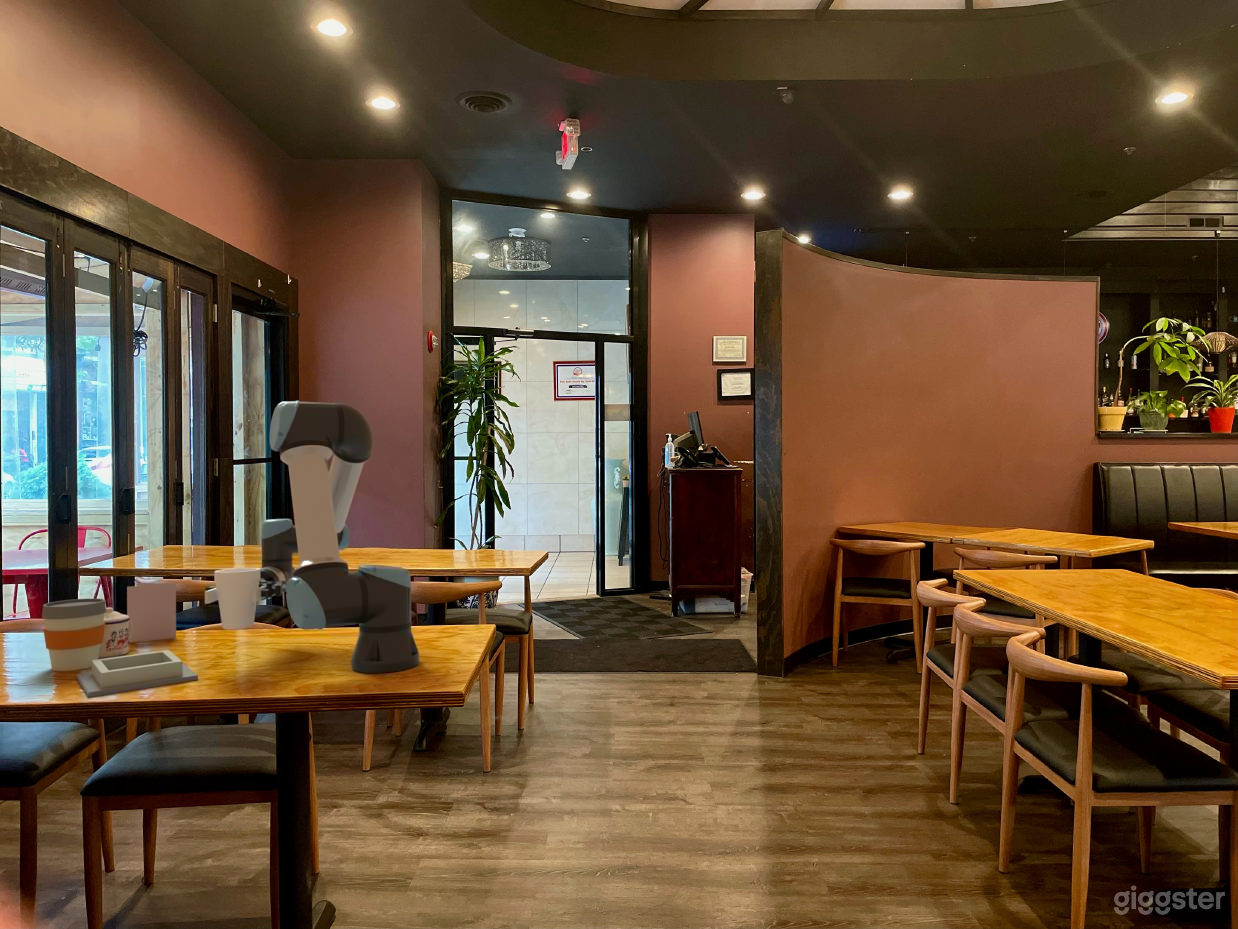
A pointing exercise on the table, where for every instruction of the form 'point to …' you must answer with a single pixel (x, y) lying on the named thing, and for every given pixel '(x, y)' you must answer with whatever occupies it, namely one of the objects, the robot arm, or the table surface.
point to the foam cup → (237, 596)
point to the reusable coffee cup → (73, 632)
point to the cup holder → (134, 673)
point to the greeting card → (152, 611)
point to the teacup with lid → (115, 634)
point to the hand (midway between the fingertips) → (230, 596)
